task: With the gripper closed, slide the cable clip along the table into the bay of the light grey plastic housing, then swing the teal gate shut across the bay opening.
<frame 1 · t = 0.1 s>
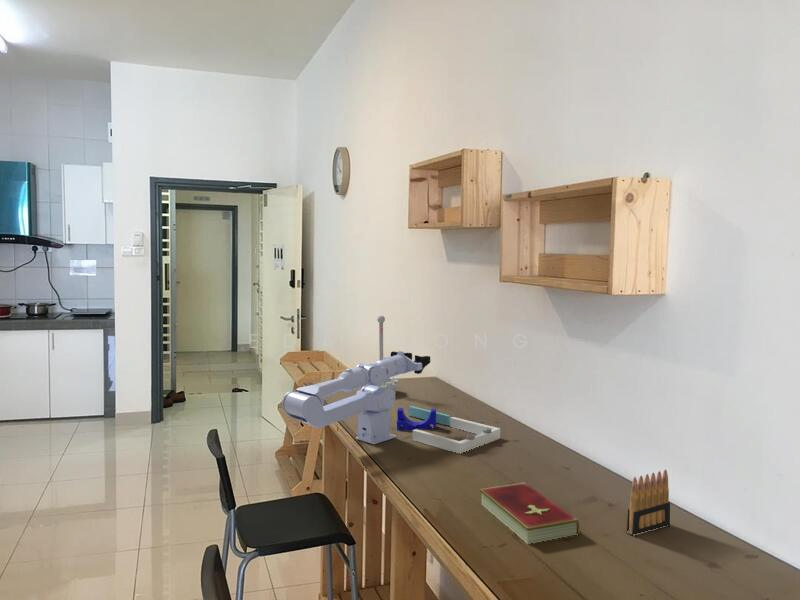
hand: (420, 357, 207), 22 cm above the table, tool horizontal, fingers open, 7 cm apart
housing: (454, 438, 195), on the table
hardcover book: (526, 522, 140), on the table
flag stand: (381, 393, 250), on the table
ammunition clip: (648, 530, 135), on the table
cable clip: (416, 429, 205), on the table
gate: (428, 415, 213), point 2 cm above the table, hinge at 90.0°
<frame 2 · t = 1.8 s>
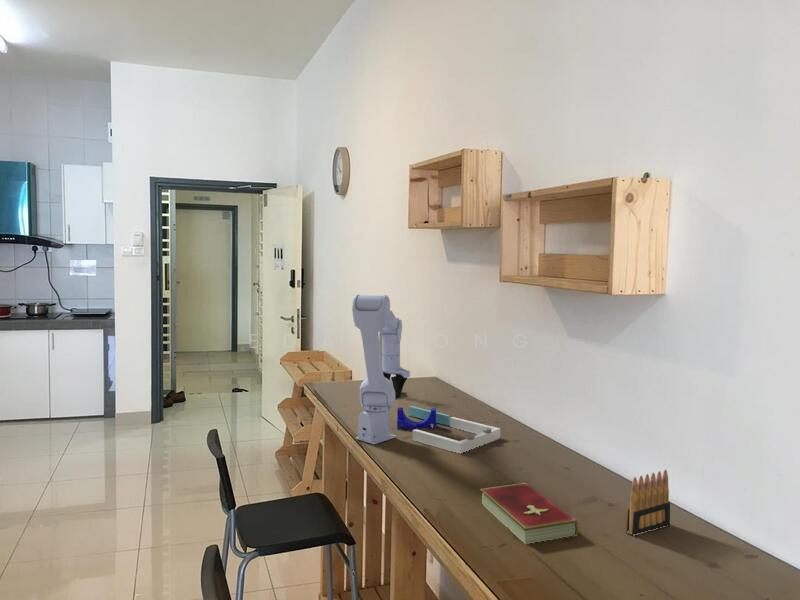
hand: (391, 396, 212), 8 cm above the table, tool pointing down, fingers open, 5 cm apart
nothing on the table moved.
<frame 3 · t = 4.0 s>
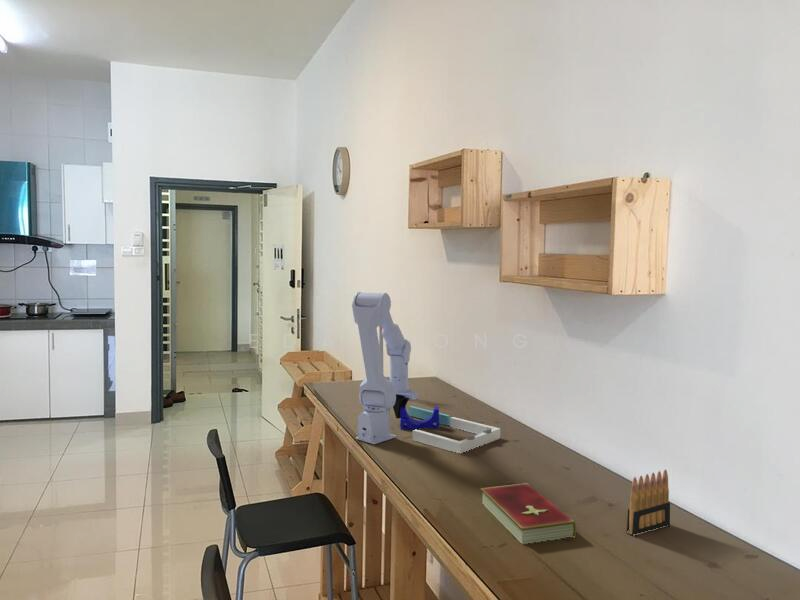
hand: (399, 417, 210), 2 cm above the table, tool pointing down, fingers closed
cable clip: (419, 428, 206), on the table, touching gripper
everything else where it was.
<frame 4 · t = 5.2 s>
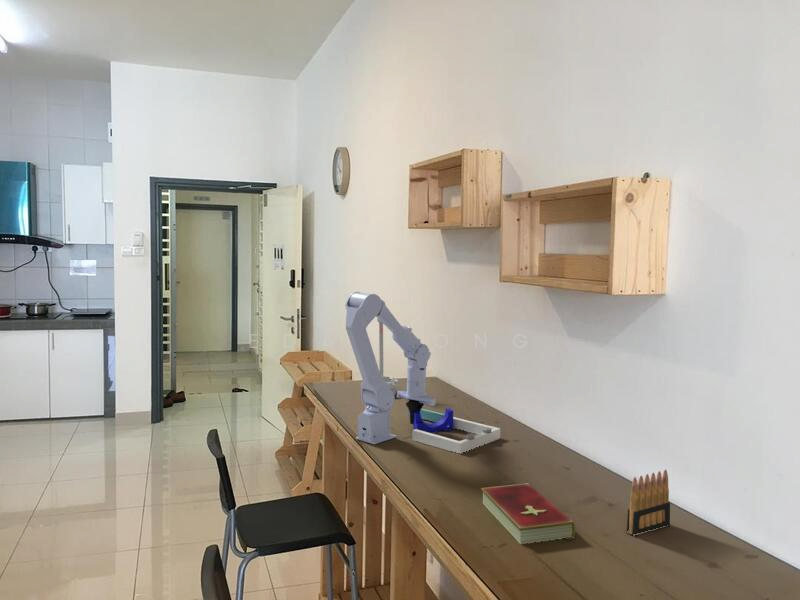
hand: (415, 424, 204), 2 cm above the table, tool pointing down, fingers closed, pressing on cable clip
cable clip: (433, 431, 203), on the table, touching gripper, housing
everything else where it was.
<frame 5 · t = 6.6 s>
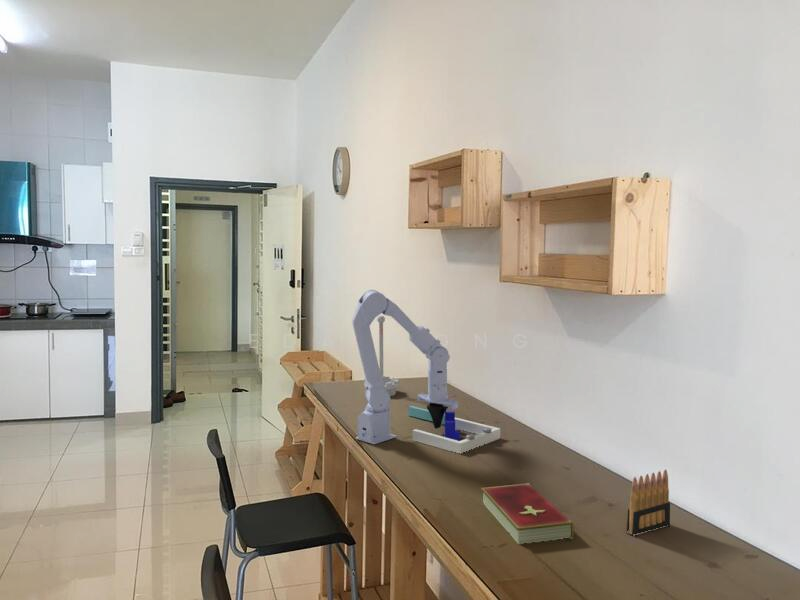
hand: (437, 427, 199), 2 cm above the table, tool pointing down, fingers closed
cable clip: (452, 436, 197), on the table, touching gripper
everything else where it was.
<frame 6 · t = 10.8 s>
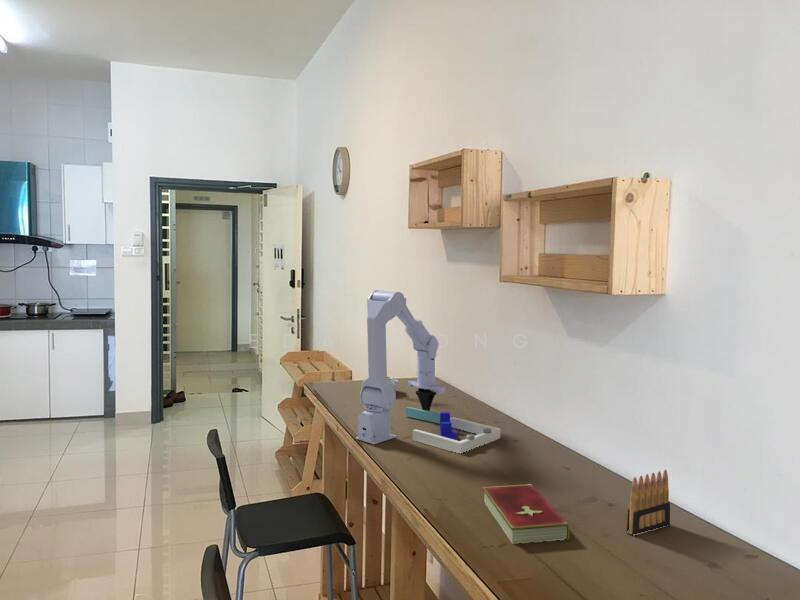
hand: (426, 411, 215), 2 cm above the table, tool pointing down, fingers closed, pressing on gate
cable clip: (448, 437, 197), on the table
gate: (427, 415, 213), point 2 cm above the table, hinge at 85.2°, touching gripper
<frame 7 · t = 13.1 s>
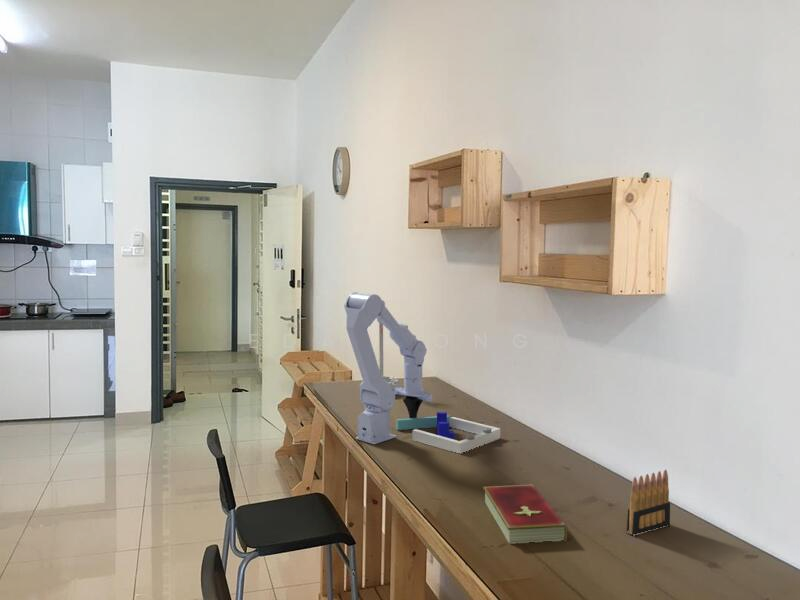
hand: (413, 420, 206), 2 cm above the table, tool pointing down, fingers closed, pressing on gate
gate: (423, 422, 205), point 2 cm above the table, hinge at 31.8°, touching gripper
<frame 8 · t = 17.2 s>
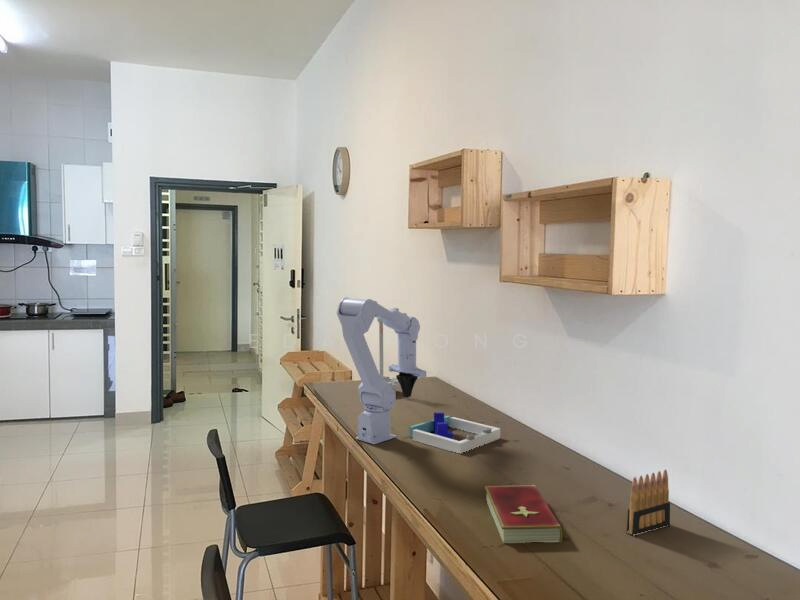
hand: (407, 396, 207), 9 cm above the table, tool pointing down, fingers closed
gate: (430, 426, 201), point 2 cm above the table, hinge at 2.6°
at the end: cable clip inside the target area (3.8 cm from its centre), on the table; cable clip tilted 0°; gate at +3° (first picture: +90°) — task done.
